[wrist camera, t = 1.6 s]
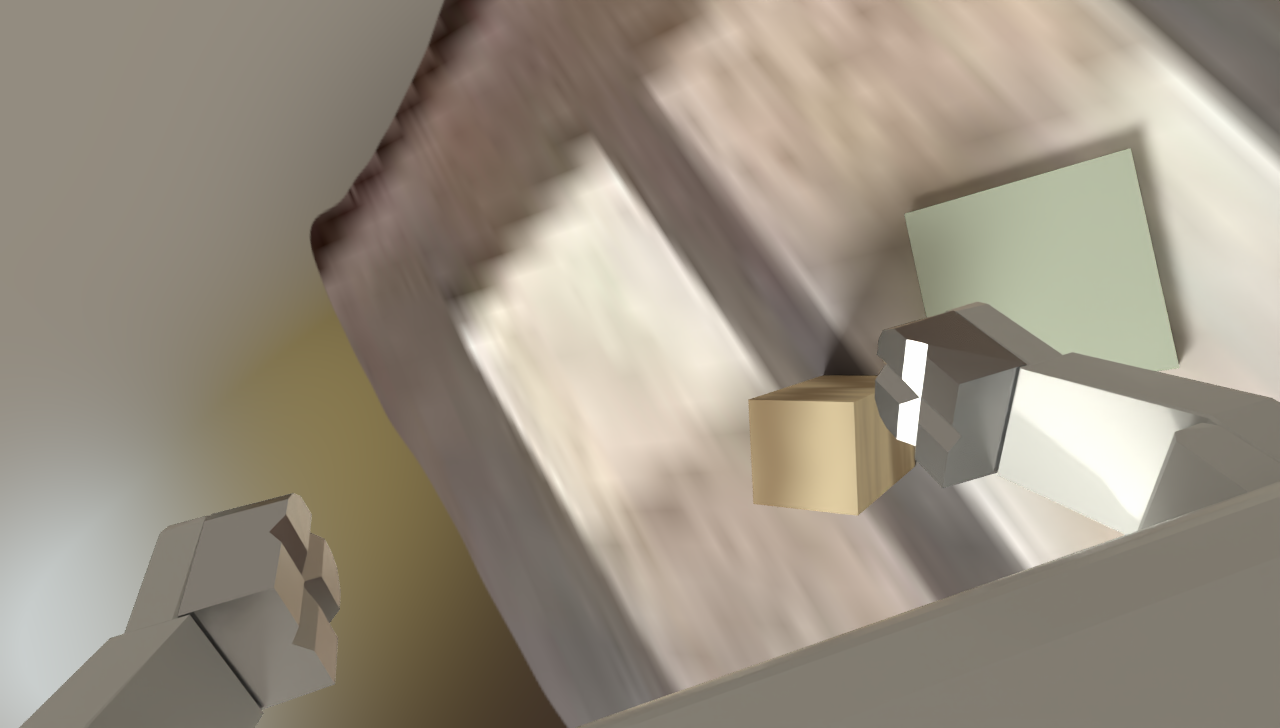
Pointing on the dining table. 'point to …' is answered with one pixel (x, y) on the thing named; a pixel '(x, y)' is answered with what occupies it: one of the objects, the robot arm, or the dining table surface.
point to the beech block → (824, 446)
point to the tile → (1053, 261)
